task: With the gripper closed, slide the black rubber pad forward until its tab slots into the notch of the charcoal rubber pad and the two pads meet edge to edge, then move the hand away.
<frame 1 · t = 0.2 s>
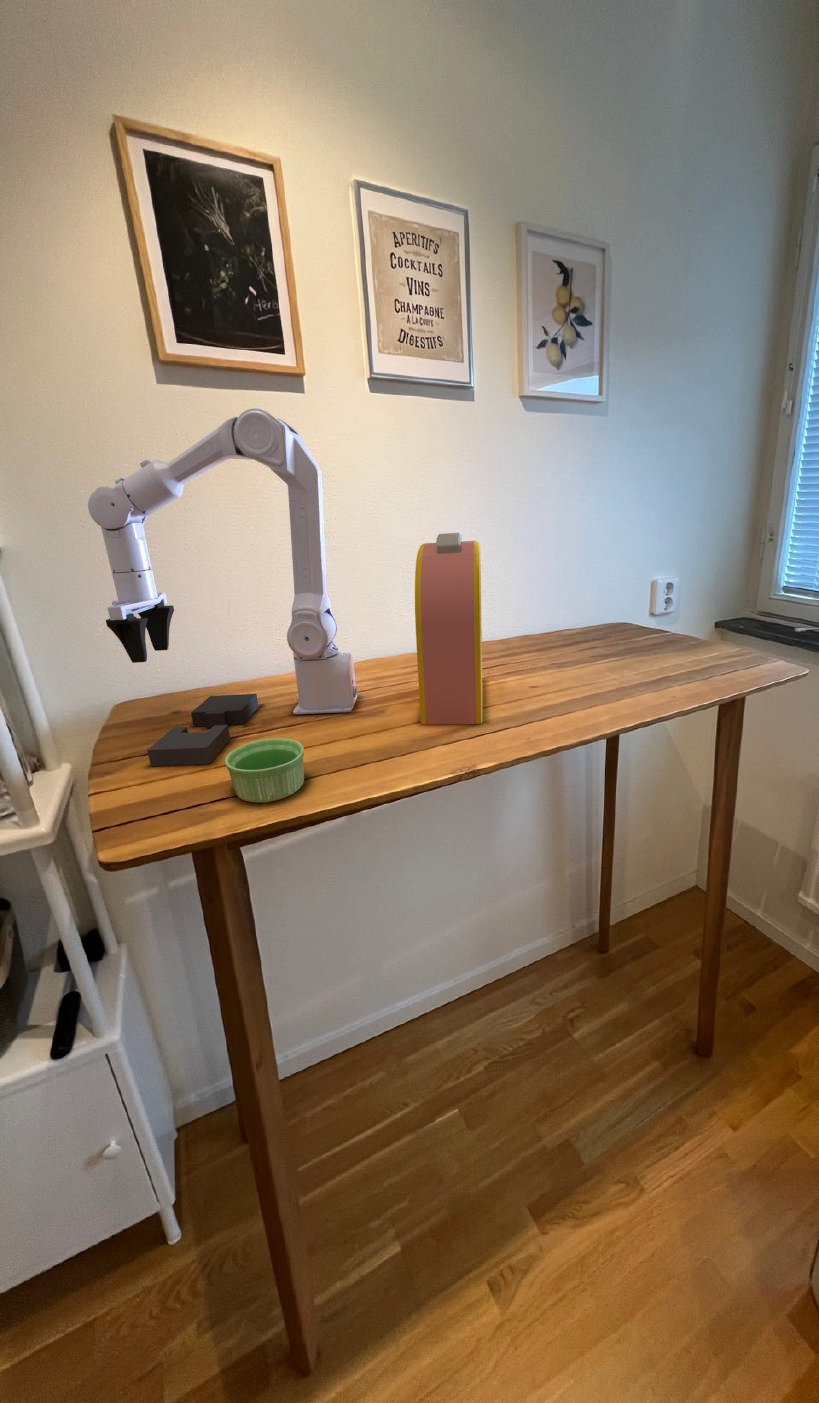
hand: (151, 655, 90), 10 cm above the table, tool pointing down, fingers open, 7 cm apart
ramekin: (270, 788, 65), on the table
charcoal pad: (192, 752, 76), on the table
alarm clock: (454, 701, 90), on the table
black pad: (227, 716, 89), on the table
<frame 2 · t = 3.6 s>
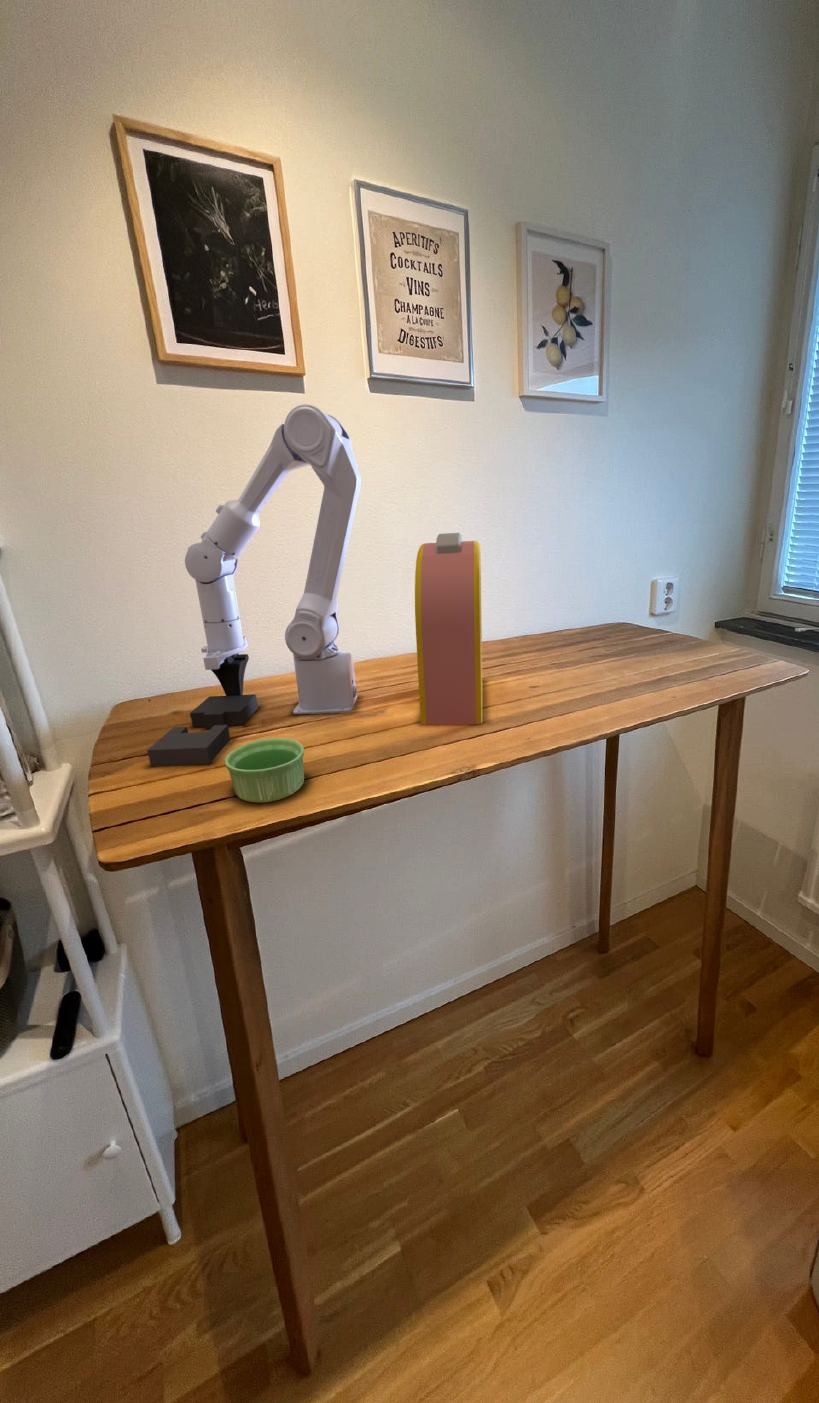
hand: (235, 699, 93), 1 cm above the table, tool pointing down, fingers closed
black pad: (226, 717, 89), on the table, touching gripper
everything else where it was.
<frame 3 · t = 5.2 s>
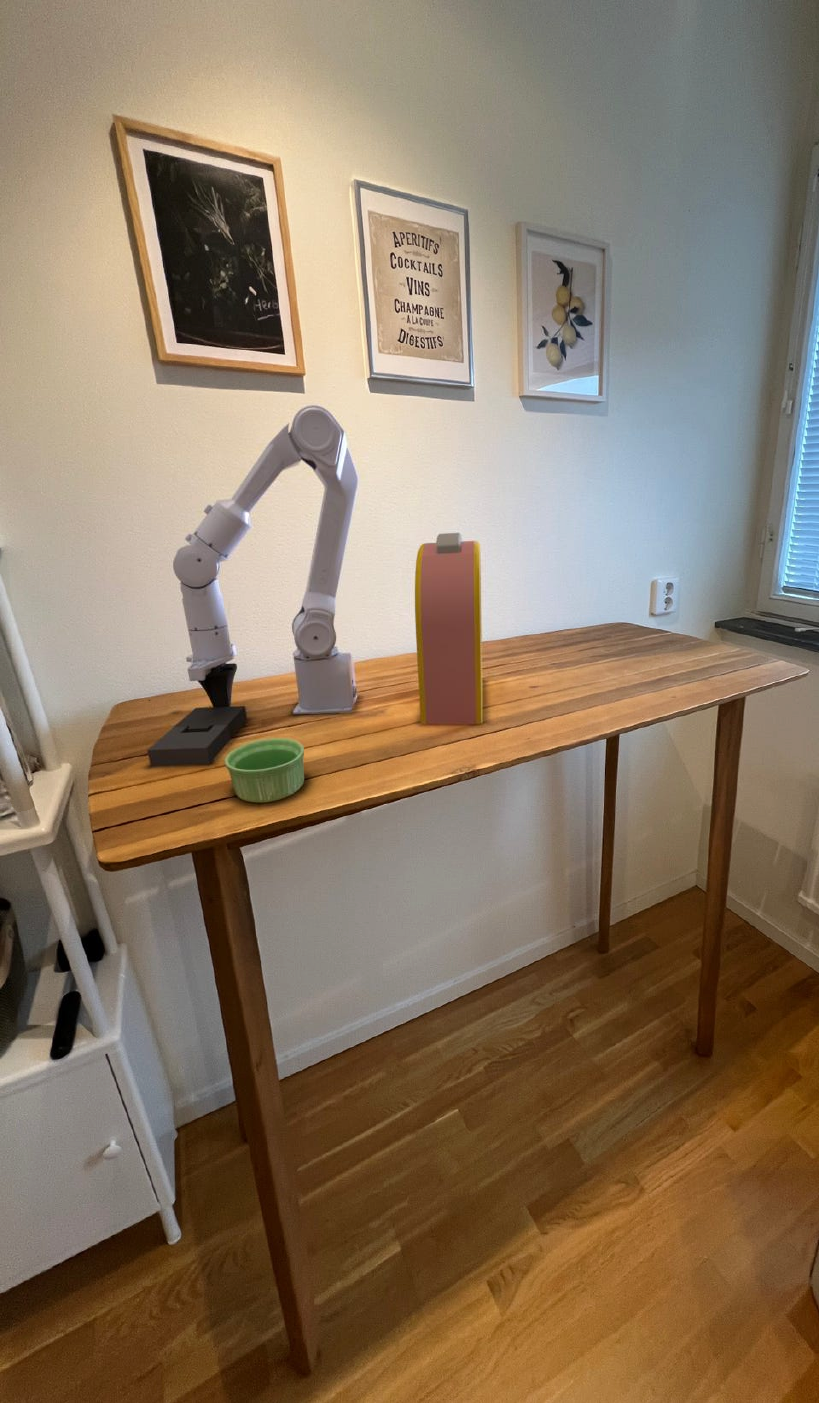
hand: (223, 711, 88), 1 cm above the table, tool pointing down, fingers closed
black pad: (213, 730, 84), on the table, touching charcoal pad, gripper
everything else where it was.
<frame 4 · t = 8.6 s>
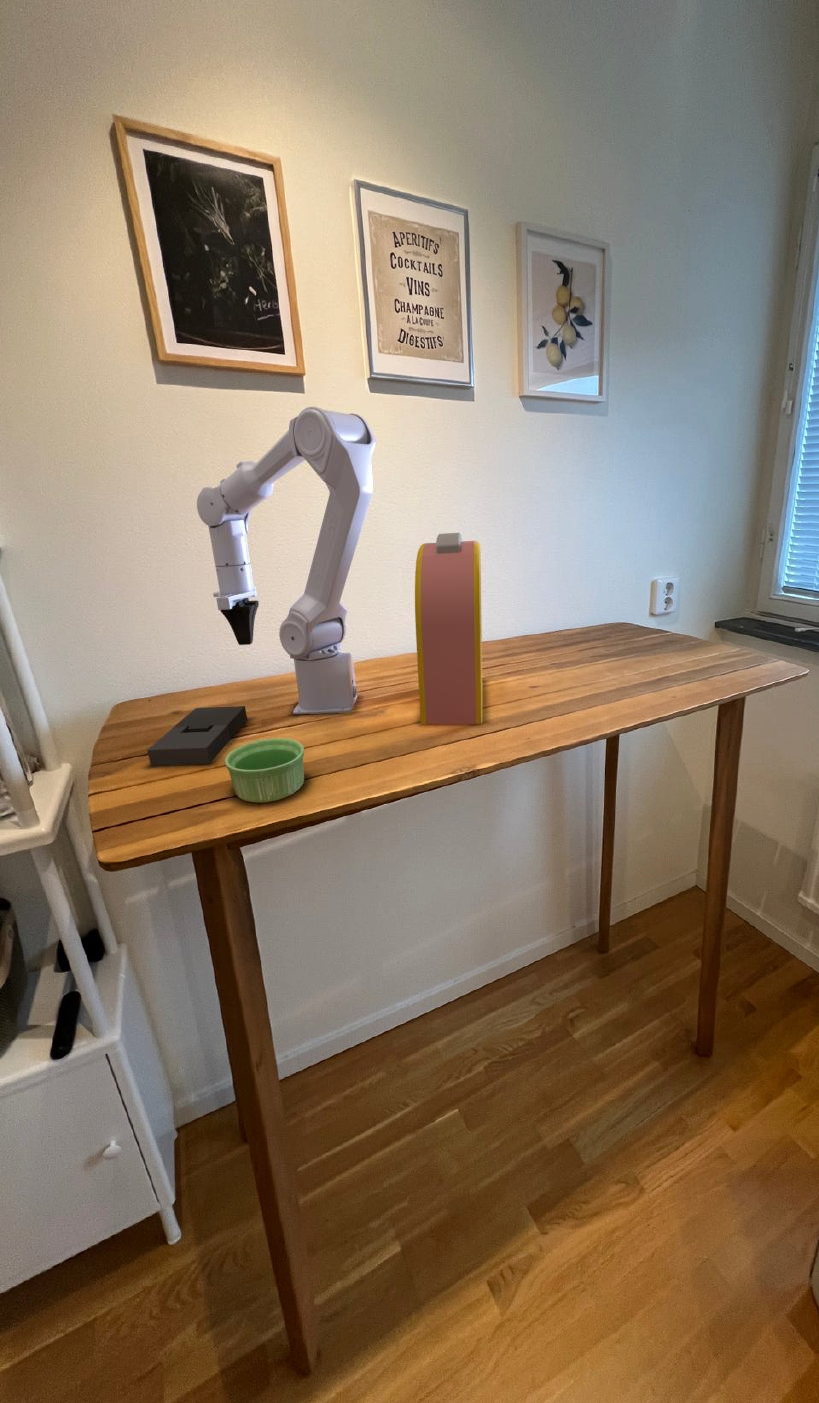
hand: (245, 643, 96), 9 cm above the table, tool pointing down, fingers closed
black pad: (213, 730, 84), on the table, touching charcoal pad
everything else where it was.
at the end: black pad 0.2 cm from the target spot on the table beside the charcoal pad, on the table; black pad tilted 0° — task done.
